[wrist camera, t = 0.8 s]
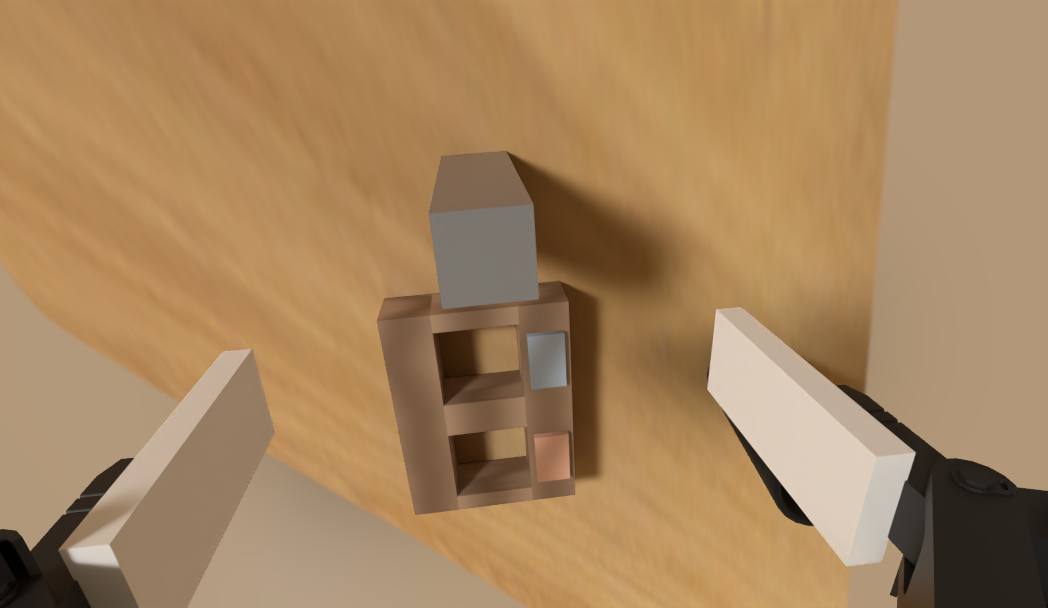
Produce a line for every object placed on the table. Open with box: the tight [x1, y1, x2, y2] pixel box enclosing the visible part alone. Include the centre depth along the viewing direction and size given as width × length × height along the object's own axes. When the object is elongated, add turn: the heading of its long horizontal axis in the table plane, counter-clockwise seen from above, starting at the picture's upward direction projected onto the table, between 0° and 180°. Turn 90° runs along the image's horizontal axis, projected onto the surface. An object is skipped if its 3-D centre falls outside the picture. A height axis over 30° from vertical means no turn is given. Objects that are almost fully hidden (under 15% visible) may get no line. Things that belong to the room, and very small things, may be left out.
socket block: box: [377, 281, 575, 515], centre depth 39 cm, size 12×16×4 cm
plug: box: [429, 151, 539, 309], centre depth 28 cm, size 4×4×14 cm
